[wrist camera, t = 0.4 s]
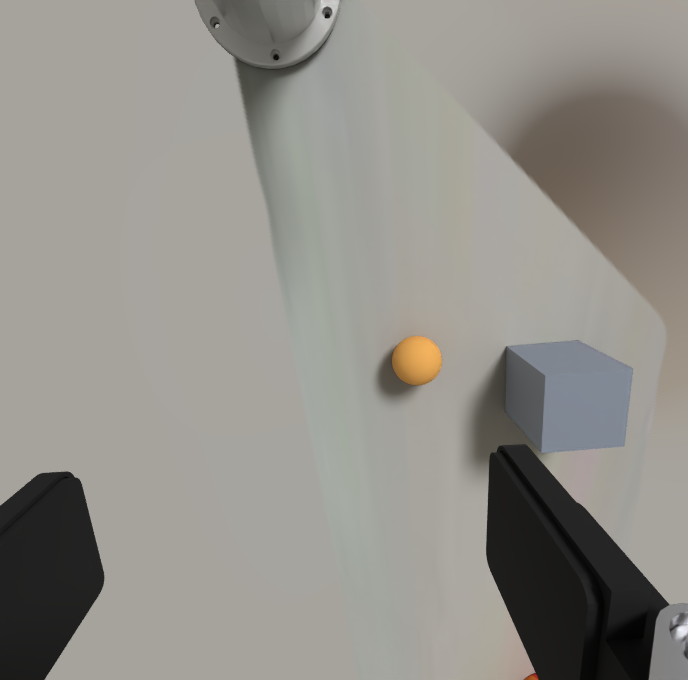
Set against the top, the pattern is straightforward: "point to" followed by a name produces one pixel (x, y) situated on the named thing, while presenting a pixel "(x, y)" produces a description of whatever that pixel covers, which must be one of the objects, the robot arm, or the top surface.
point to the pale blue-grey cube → (567, 396)
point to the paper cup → (532, 677)
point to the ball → (416, 360)
